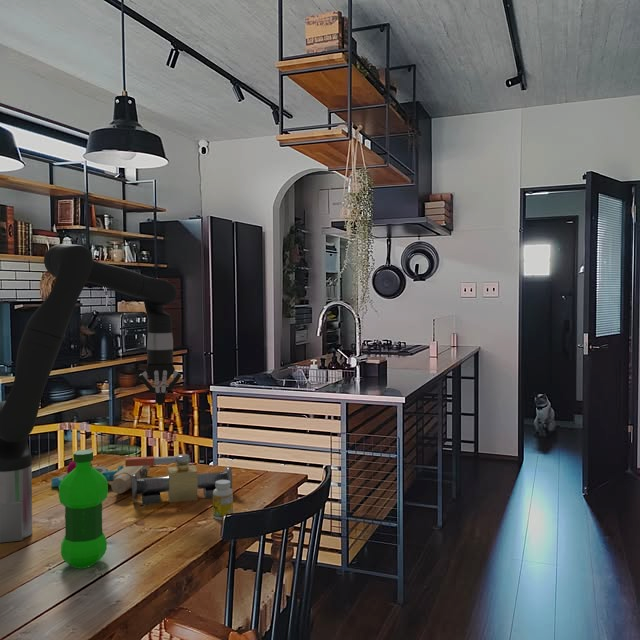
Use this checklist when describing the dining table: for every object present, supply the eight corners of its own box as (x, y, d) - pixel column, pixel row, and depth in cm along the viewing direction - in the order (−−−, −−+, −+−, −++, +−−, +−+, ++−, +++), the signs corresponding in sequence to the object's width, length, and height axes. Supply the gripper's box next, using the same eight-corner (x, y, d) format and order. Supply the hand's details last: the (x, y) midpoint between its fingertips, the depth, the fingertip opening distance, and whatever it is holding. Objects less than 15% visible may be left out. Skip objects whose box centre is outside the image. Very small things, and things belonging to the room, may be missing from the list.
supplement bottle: (235, 518, 164) (235, 483, 164) (215, 521, 162) (215, 485, 162) (229, 512, 169) (229, 477, 169) (210, 514, 167) (210, 480, 167)
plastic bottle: (67, 554, 141) (66, 446, 140) (114, 553, 141) (113, 446, 141) (51, 574, 131) (50, 458, 130) (102, 572, 131) (101, 457, 131)
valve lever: (189, 460, 183) (189, 453, 183) (189, 464, 179) (189, 457, 179) (126, 463, 179) (126, 457, 179) (125, 467, 175) (125, 460, 175)
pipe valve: (228, 489, 189) (228, 457, 188) (232, 496, 182) (232, 463, 182) (132, 498, 180) (132, 464, 179) (132, 506, 173) (132, 471, 173)
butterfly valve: (33, 508, 179) (134, 498, 178) (30, 485, 178) (132, 475, 178) (72, 481, 205) (160, 472, 205) (70, 461, 205) (158, 452, 204)
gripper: (137, 349, 179) (137, 407, 179) (183, 348, 183) (183, 405, 184) (137, 347, 186) (137, 403, 187) (181, 346, 190) (181, 401, 191)
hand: (160, 404), depth 185 cm, fingers closed
